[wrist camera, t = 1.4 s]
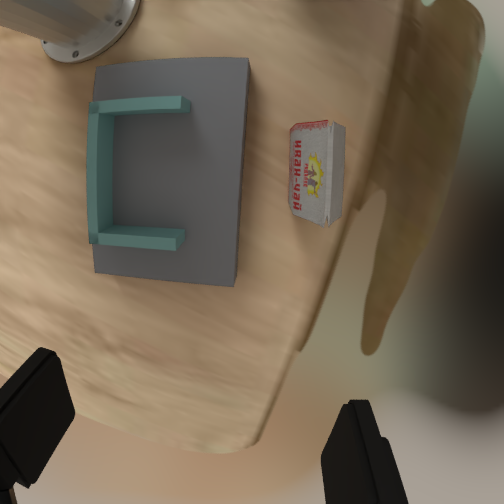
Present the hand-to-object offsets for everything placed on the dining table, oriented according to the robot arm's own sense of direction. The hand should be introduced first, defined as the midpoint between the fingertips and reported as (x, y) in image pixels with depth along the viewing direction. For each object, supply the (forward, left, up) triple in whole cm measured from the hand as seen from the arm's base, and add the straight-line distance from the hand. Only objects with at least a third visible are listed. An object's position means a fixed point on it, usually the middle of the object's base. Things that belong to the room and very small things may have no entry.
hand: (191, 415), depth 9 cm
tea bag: (-7, +6, -23) cm, 25 cm away
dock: (-6, -7, -23) cm, 25 cm away
